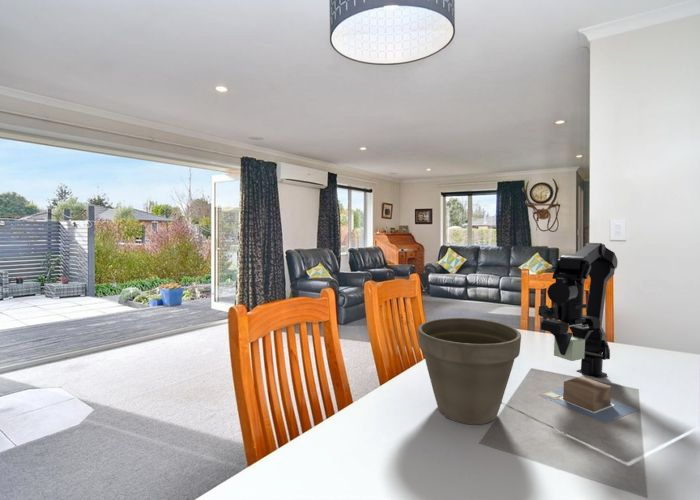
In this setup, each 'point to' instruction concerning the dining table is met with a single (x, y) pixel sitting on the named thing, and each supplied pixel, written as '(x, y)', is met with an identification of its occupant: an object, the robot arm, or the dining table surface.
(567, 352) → the sage cube
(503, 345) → the plant pot
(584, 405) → the walnut base block
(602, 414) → the board
